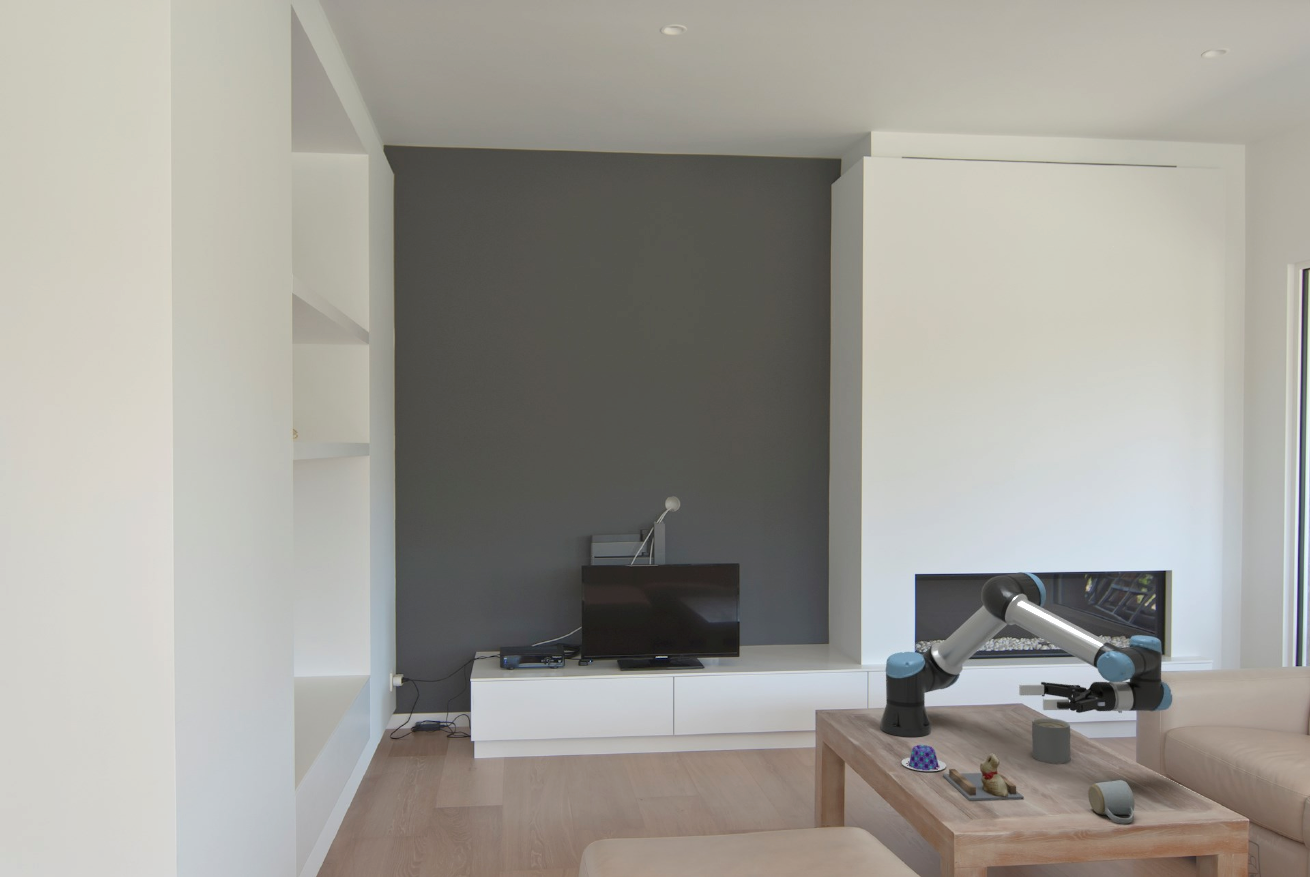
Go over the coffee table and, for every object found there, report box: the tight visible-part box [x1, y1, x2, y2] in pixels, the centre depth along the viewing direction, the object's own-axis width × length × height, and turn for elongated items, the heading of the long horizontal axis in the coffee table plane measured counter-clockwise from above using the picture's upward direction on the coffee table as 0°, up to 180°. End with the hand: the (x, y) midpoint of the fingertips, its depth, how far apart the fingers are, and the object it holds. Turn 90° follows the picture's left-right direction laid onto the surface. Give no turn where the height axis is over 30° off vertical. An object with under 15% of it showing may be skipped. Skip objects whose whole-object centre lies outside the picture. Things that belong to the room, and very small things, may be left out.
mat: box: [942, 772, 1025, 802], centre depth 246 cm, size 18×14×1 cm
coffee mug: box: [1031, 717, 1072, 764], centre depth 271 cm, size 13×10×10 cm
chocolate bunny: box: [979, 752, 1008, 797], centre depth 242 cm, size 6×8×10 cm
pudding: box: [901, 744, 947, 772], centre depth 264 cm, size 12×12×5 cm
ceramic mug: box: [1087, 779, 1136, 825], centre depth 227 cm, size 11×8×8 cm
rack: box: [948, 768, 1017, 795], centre depth 246 cm, size 14×12×2 cm
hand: (1031, 697), depth 249 cm, fingers open, 13 cm apart
